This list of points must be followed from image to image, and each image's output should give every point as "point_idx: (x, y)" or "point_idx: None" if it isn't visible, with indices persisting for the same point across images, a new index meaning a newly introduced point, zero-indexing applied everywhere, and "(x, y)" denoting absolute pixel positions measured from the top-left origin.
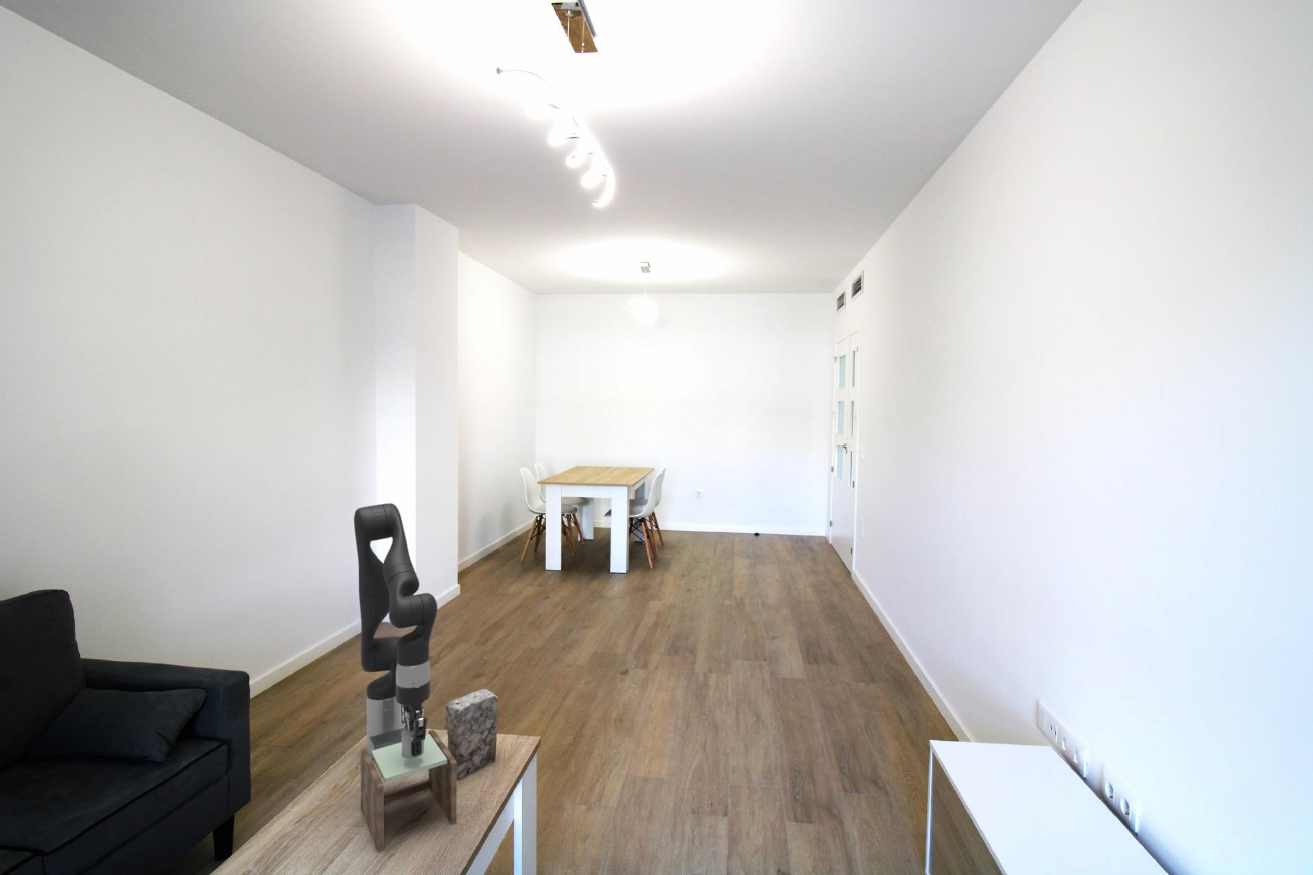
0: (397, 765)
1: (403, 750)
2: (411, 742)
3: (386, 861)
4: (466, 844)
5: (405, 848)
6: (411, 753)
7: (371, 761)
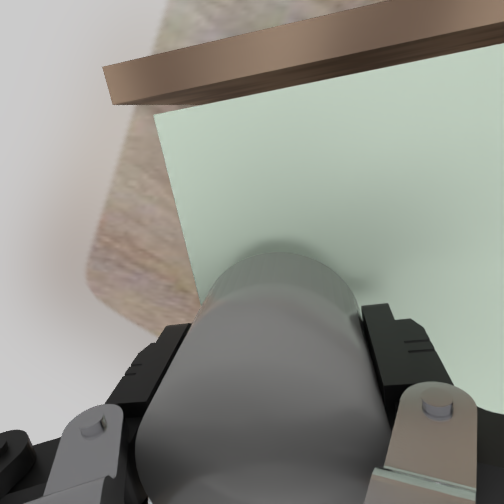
0: (288, 204)
1: (229, 283)
2: (140, 389)
3: (151, 110)
4: (150, 319)
5: None
6: (173, 329)
7: (471, 21)
